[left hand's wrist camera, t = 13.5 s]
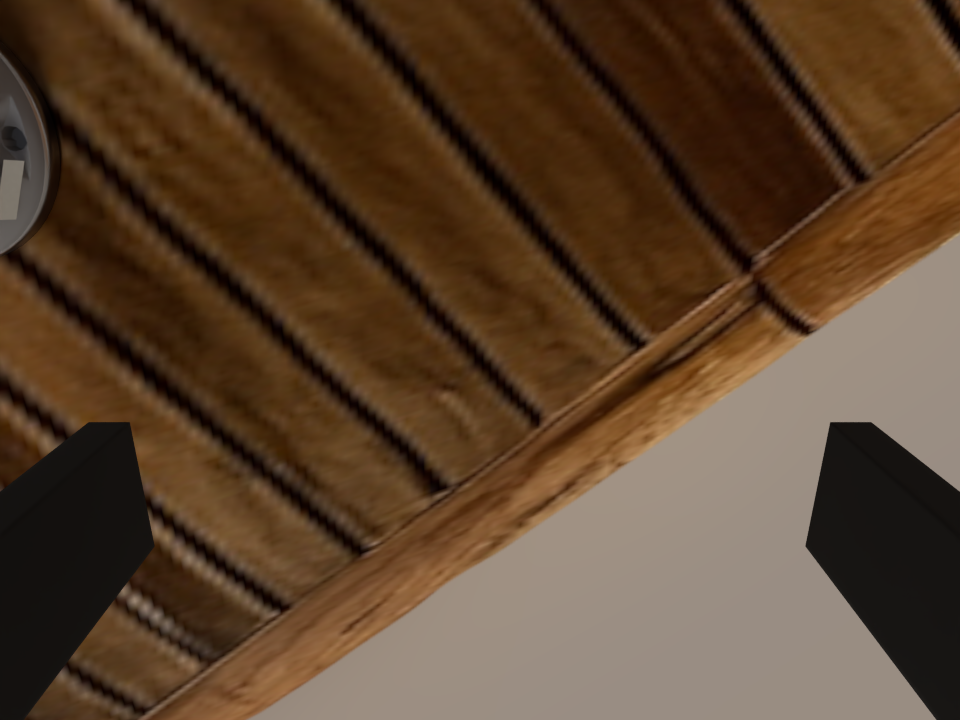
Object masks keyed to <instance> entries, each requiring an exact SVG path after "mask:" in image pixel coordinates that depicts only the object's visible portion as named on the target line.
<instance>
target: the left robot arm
mask: <svg viewBox="0 0 960 720" xmlns="http://www.w3.org/2000/svg"><path fill="white" fill-rule="evenodd" d="M59 178H60V151H59V145H58V138H57V134H56V130H55V126H54V123H53V120H52V117H51V114H50V111H49V109H48V107H47V105H46V102H45V100H44V98H43V96H42V94H41V92H40V90H39V89H38V87H37V85H36V83H35V82H34V80H33V79H32V77H31V76H30V74H29V73H28V71H27V70H26V69H25V67H24V66H23V65H22V64H21V62H20V61H19V60H18V59H17V58H16V56H15V55H14V54H13V53H12V52H11V51H10V50H9V49H8V48H7V47H6V46H5V45H4V44H3V43H2V42H1V41H0V256H3V255H5V254H8V253H10V252H12V251H14V250H15V249H17V248H19V247H20V246H22V245H23V244H24V243H26V242H27V241H28V240H29V239H30V238H31V237H33V236H34V235H35V233H36V232H37V231H38V230H39V229H40V228H41V226H42V225H43V223H44V222H45V220H46V219H47V217H48V215H49V213H50V211H51V209H52V207H53V204H54V201H55V198H56V194H57V190H58V186H59ZM153 548H154V541H153V536H152V531H151V526H150V521H149V516H148V511H147V506H146V501H145V496H144V491H143V486H142V481H141V476H140V471H139V466H138V462H137V457H136V452H135V447H134V442H133V437H132V432H131V427H130V422H89V423H87V424H86V425H85V426H83V427H82V428H81V429H80V430H78V431H77V432H76V433H75V434H73V435H72V436H71V437H69V438H68V439H67V440H66V441H64V442H63V443H62V444H61V445H59V446H58V447H57V448H55V449H54V450H53V451H52V452H50V453H49V454H48V455H47V456H45V457H44V458H43V459H41V460H40V461H39V462H38V463H36V464H35V465H34V466H33V467H31V468H30V469H29V470H27V471H26V472H25V473H24V474H22V475H21V476H20V477H18V478H17V479H16V480H15V481H13V482H12V483H11V484H10V485H8V486H7V487H6V488H4V489H3V490H2V491H1V492H0V720H24V718H25V717H26V716H27V714H28V713H29V712H30V711H31V709H32V708H33V707H34V705H35V704H36V703H37V701H38V700H39V699H40V697H41V696H42V695H43V693H44V692H45V691H46V689H47V688H48V687H49V685H50V684H51V683H52V681H53V680H54V679H55V677H56V676H57V675H58V673H59V672H60V671H61V669H62V668H63V667H64V665H65V664H66V663H67V661H68V660H69V659H70V658H71V656H72V655H73V654H74V652H75V651H76V650H77V648H78V647H79V646H80V644H81V643H82V642H83V640H84V639H85V638H86V636H87V635H88V634H89V632H90V631H91V630H92V628H93V627H94V626H95V624H96V623H97V622H98V620H99V619H100V618H101V616H102V615H103V614H104V612H105V611H106V610H107V609H108V607H109V606H110V605H111V603H112V602H113V601H114V599H115V598H116V597H117V595H118V594H119V593H120V591H121V590H122V589H123V587H124V586H125V585H126V583H127V582H128V581H129V579H130V578H131V577H132V575H133V574H134V573H135V571H136V570H137V569H138V567H139V566H140V565H141V563H142V562H143V561H144V559H145V558H146V557H147V556H148V554H149V553H150V552H151V550H152V549H153ZM806 548H807V549H808V550H809V552H810V553H811V554H812V556H813V557H814V558H815V559H816V561H817V562H818V563H819V565H820V566H821V567H822V569H823V570H824V571H825V573H826V574H827V575H828V577H829V578H830V579H831V581H832V582H833V583H834V585H835V586H836V587H837V589H838V590H839V591H840V593H841V594H842V595H843V596H844V598H845V599H846V601H847V602H848V603H849V604H850V606H851V607H852V609H853V610H854V611H855V612H856V614H857V615H858V616H859V618H860V619H861V620H862V622H863V623H864V624H865V626H866V627H867V628H868V630H869V631H870V632H871V634H872V635H873V636H874V638H875V639H876V640H877V642H878V643H879V644H880V646H881V647H882V648H883V650H884V651H885V652H886V654H887V655H888V656H889V657H890V659H891V660H892V661H893V663H894V664H895V665H896V667H897V668H898V669H899V671H900V672H901V673H902V675H903V676H904V677H905V679H906V680H907V681H908V683H909V684H910V685H911V687H912V688H913V689H914V691H915V692H916V693H917V695H918V696H919V697H920V699H921V700H922V701H923V703H924V704H925V705H926V707H927V708H928V709H929V711H930V712H931V713H932V714H933V716H934V717H935V718H936V720H960V492H959V491H958V490H957V489H955V488H954V487H953V486H952V485H950V484H949V483H948V482H947V481H945V480H944V479H943V478H942V477H940V476H939V475H938V474H936V473H935V472H934V471H933V470H931V469H930V468H929V467H927V466H926V465H925V464H924V463H922V462H921V461H920V460H919V459H917V458H916V457H915V456H913V455H912V454H911V453H910V452H908V451H907V450H906V449H905V448H903V447H902V446H901V445H899V444H898V443H897V442H896V441H894V440H893V439H892V438H891V437H889V436H888V435H887V434H885V433H884V432H883V431H882V430H880V429H879V428H878V427H877V426H875V425H874V424H873V423H871V422H831V423H830V427H829V432H828V437H827V442H826V447H825V452H824V457H823V461H822V466H821V472H820V476H819V481H818V486H817V491H816V496H815V501H814V506H813V511H812V516H811V521H810V526H809V531H808V536H807V541H806Z"/></svg>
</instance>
